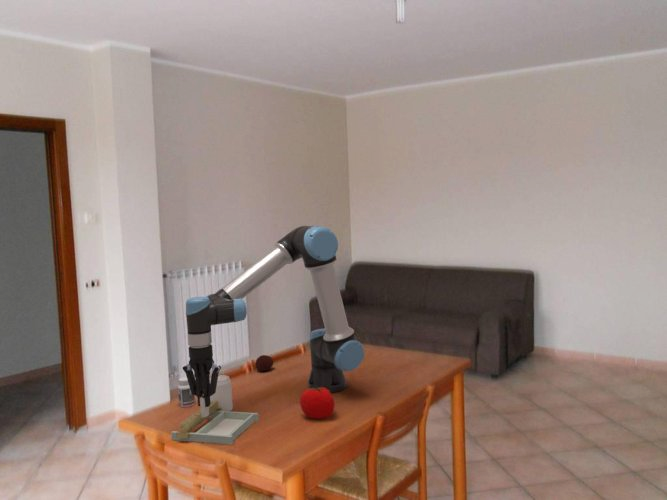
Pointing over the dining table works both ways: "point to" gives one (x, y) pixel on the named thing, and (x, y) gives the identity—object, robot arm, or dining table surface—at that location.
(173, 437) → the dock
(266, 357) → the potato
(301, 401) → the tomato
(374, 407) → the dining table surface
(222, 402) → the grey cylindrical container
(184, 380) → the pill bottle
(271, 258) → the robot arm
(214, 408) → the bar
